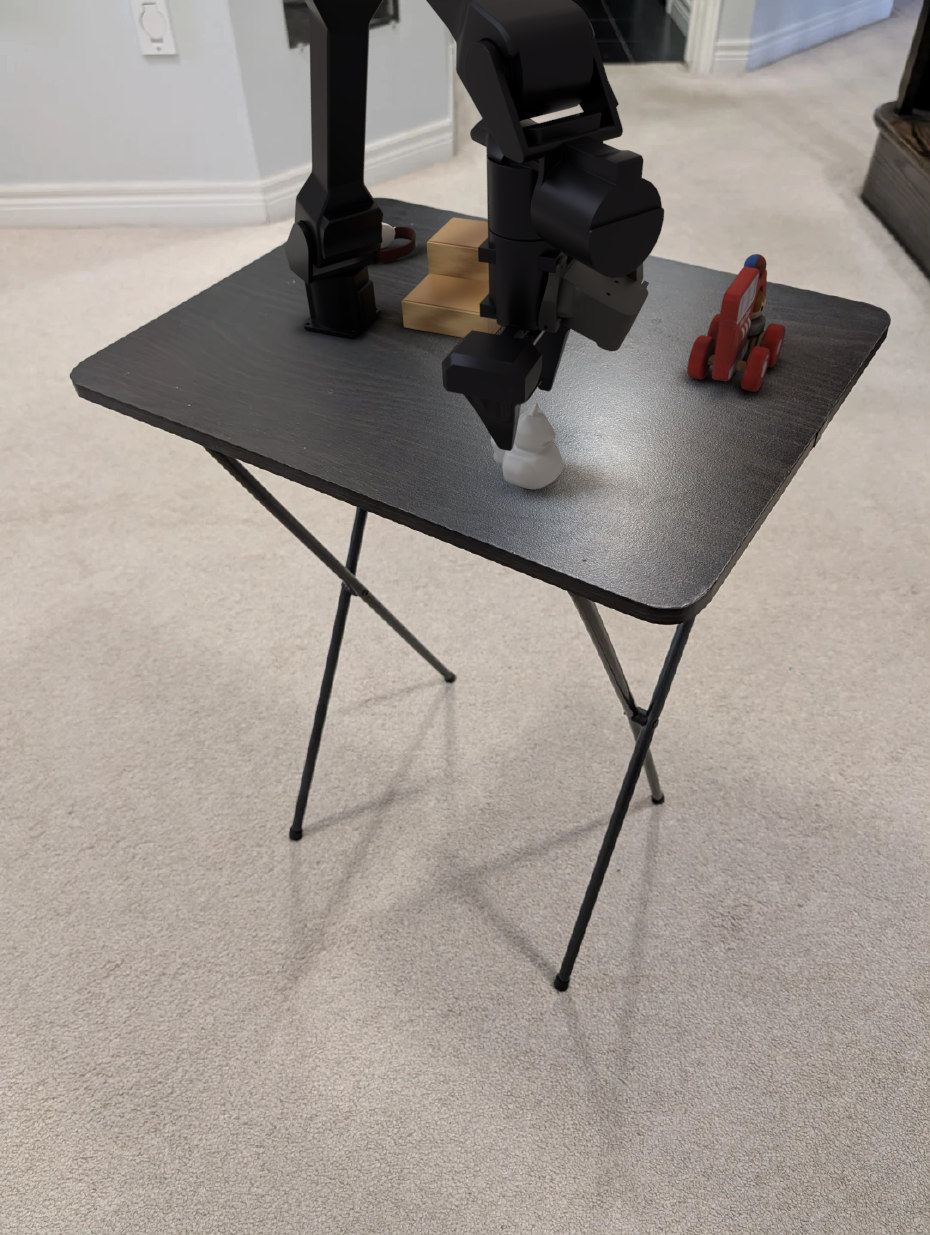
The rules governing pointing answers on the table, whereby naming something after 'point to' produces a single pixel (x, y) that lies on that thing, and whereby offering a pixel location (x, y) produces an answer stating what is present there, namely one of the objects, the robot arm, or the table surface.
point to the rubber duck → (531, 452)
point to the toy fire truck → (740, 332)
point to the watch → (393, 234)
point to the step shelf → (452, 283)
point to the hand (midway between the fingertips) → (526, 418)
